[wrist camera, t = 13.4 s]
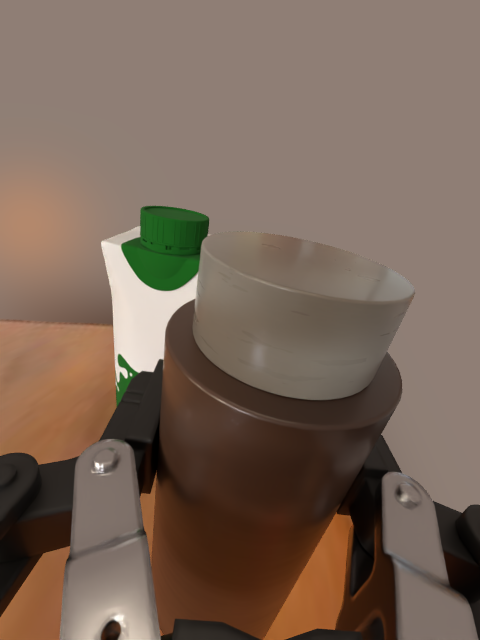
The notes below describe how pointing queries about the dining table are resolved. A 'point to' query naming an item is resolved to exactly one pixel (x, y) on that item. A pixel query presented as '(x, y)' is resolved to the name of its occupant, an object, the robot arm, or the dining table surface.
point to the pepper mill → (266, 419)
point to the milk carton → (151, 284)
